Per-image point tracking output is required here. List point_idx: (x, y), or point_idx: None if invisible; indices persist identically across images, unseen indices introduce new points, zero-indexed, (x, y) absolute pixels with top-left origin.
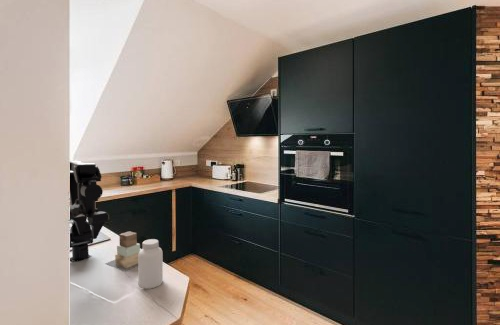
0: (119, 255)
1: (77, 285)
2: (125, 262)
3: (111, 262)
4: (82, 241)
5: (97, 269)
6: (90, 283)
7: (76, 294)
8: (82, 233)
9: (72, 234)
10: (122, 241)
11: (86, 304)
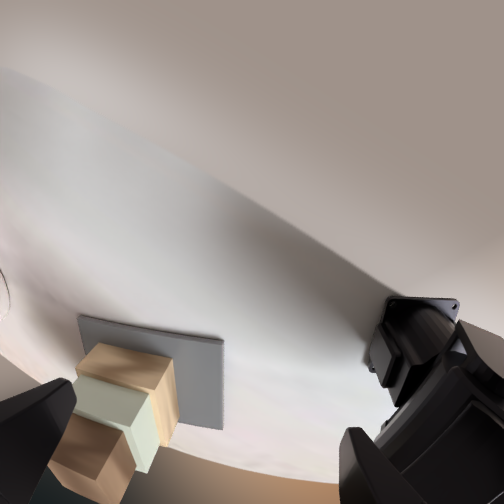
0: (124, 383)
1: (129, 140)
2: (93, 356)
3: (206, 364)
4: (409, 400)
5: (208, 294)
6: (100, 183)
7: (72, 105)
8: (340, 451)
9: (480, 395)
10: (87, 441)
11: (13, 106)
